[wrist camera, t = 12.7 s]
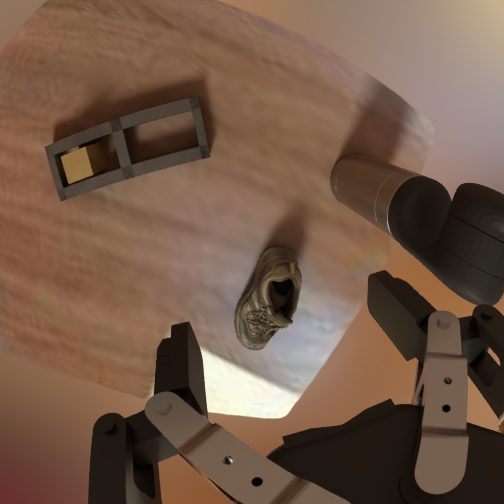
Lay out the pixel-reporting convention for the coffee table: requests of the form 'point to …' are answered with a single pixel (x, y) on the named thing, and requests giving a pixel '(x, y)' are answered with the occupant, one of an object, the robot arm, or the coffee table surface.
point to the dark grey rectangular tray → (126, 148)
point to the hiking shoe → (269, 298)
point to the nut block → (84, 162)
